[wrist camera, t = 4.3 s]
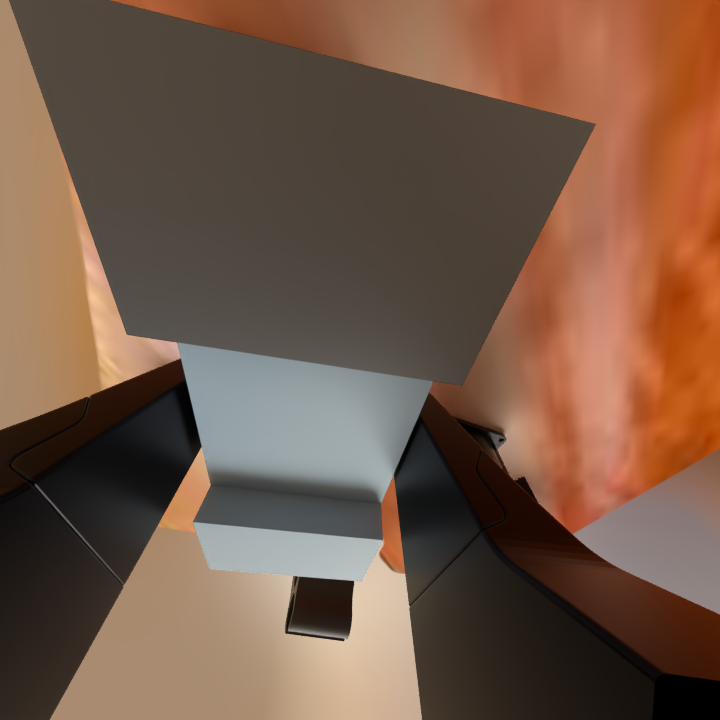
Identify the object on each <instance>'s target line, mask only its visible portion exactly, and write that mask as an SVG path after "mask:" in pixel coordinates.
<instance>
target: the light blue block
mask: <svg viewBox="0 0 720 720" xmlns="http://www.w3.org/2000/svg"><path fill="white" fill-rule="evenodd" d="M9 1H10V4H11V7H12V10H13V13H14V16H15V18H16V21H17V24H18V27H19V30H20V32H21V35H22V38H23V41H24V44H25V47H26V49H27V52H28V55H29V58H30V61H31V64H32V66H33V70H34V72H35V75H36V78H37V81H38V84H39V86H40V89H41V92H42V95H43V98H44V101H45V104H46V106H47V109H48V112H49V115H50V118H51V121H52V123H53V126H54V129H55V132H56V135H57V138H58V141H59V143H60V146H61V149H62V152H63V155H64V158H65V160H66V163H67V166H68V169H69V172H70V175H71V177H72V180H73V183H74V186H75V189H76V192H77V194H78V197H79V200H80V203H81V206H82V209H83V211H84V214H85V217H86V220H87V223H88V226H89V229H90V231H91V234H92V237H93V240H94V243H95V246H96V248H97V251H98V254H99V257H100V260H101V263H102V265H103V268H104V271H105V274H106V277H107V280H108V282H109V285H110V288H111V291H112V294H113V297H114V299H115V302H116V305H117V308H118V311H119V314H120V316H121V319H122V322H123V325H124V328H125V331H126V334H127V335H132V336H138V337H145V338H151V339H158V340H164V341H171V342H177V344H178V348H179V352H180V356H181V361H182V365H183V369H184V373H185V378H186V382H187V386H188V390H189V395H190V399H191V403H192V407H193V411H194V416H195V420H196V424H197V428H198V433H199V437H200V441H201V445H202V450H203V454H204V458H205V462H206V466H207V471H208V475H209V479H210V483H211V486H210V488H209V490H208V492H207V494H206V497H205V499H204V501H203V503H202V505H201V507H200V509H199V511H198V513H197V515H196V517H195V519H194V521H193V524H194V527H195V529H196V532H197V535H198V538H199V541H200V544H201V546H202V549H203V552H204V555H205V558H206V561H207V563H208V566H209V569H214V570H226V571H239V572H252V573H263V574H276V575H288V576H300V577H312V578H325V579H337V580H349V581H362V580H363V578H364V576H365V574H366V572H367V570H368V568H369V566H370V564H371V562H372V560H373V558H374V557H375V555H376V553H377V551H378V549H379V547H380V545H381V543H382V541H383V535H382V515H381V502H382V500H383V498H384V495H385V493H386V491H387V488H388V486H389V484H390V481H391V479H392V477H393V474H394V472H395V470H396V468H397V465H398V463H399V461H400V458H401V456H402V454H403V451H404V449H405V447H406V444H407V442H408V440H409V437H410V435H411V433H412V430H413V428H414V426H415V423H416V421H417V419H418V416H419V414H420V412H421V409H422V407H423V405H424V402H425V400H426V398H427V395H428V393H429V391H430V388H431V386H432V384H433V381H434V382H441V383H447V384H454V385H460V386H462V385H463V383H464V381H465V379H466V377H467V375H468V373H469V371H470V369H471V367H472V365H473V363H474V361H475V359H476V357H477V355H478V353H479V351H480V349H481V348H482V346H483V344H484V342H485V340H486V338H487V336H488V334H489V332H490V330H491V328H492V326H493V324H494V322H495V320H496V318H497V316H498V314H499V312H500V310H501V308H502V307H503V305H504V303H505V301H506V299H507V297H508V295H509V293H510V291H511V289H512V287H513V285H514V283H515V281H516V279H517V277H518V275H519V273H520V271H521V269H522V267H523V266H524V264H525V262H526V260H527V258H528V256H529V254H530V252H531V250H532V248H533V246H534V244H535V242H536V240H537V238H538V236H539V234H540V232H541V230H542V228H543V226H544V225H545V223H546V221H547V219H548V217H549V215H550V213H551V211H552V209H553V207H554V205H555V203H556V201H557V199H558V197H559V195H560V193H561V191H562V189H563V187H564V185H565V184H566V182H567V180H568V178H569V176H570V174H571V172H572V170H573V168H574V166H575V164H576V162H577V160H578V158H579V156H580V154H581V152H582V150H583V148H584V146H585V144H586V142H587V141H588V139H589V137H590V135H591V133H592V131H593V129H594V127H595V125H596V124H593V123H589V122H586V121H582V120H578V119H574V118H570V117H566V116H562V115H558V114H554V113H550V112H546V111H542V110H538V109H534V108H531V107H527V106H523V105H519V104H515V103H511V102H507V101H503V100H499V99H495V98H491V97H487V96H483V95H479V94H476V93H472V92H468V91H464V90H460V89H456V88H452V87H448V86H444V85H440V84H436V83H432V82H428V81H424V80H421V79H417V78H413V77H409V76H405V75H401V74H397V73H393V72H389V71H385V70H381V69H377V68H373V67H369V66H366V65H362V64H358V63H354V62H350V61H346V60H342V59H338V58H334V57H330V56H326V55H322V54H318V53H315V52H311V51H307V50H303V49H299V48H295V47H291V46H287V45H283V44H279V43H275V42H271V41H267V40H263V39H260V38H256V37H252V36H248V35H244V34H240V33H236V32H232V31H228V30H224V29H220V28H216V27H212V26H208V25H205V24H201V23H197V22H193V21H189V20H185V19H181V18H177V17H173V16H169V15H165V14H161V13H157V12H153V11H150V10H146V9H142V8H138V7H134V6H130V5H126V4H122V3H118V2H114V1H110V0H9Z"/></svg>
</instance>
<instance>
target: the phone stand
mask: <svg viewBox="0 0 720 720" xmlns="http://www.w3.org/2000/svg"><path fill="white" fill-rule="evenodd" d="M353 587H354V581H349V580H337V579H325V578H312V577H300V576H293V582H292V589H291V597H290V602H289V608H288V613H287V618H286V625H285V633H286V634H294V635H301V636H309V637H316V638H324V639H331V640H339V641H344V639H348V636H349V634H350V629H351V622H352V596H353Z"/></svg>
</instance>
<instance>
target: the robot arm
mask: <svg viewBox="0 0 720 720" xmlns="http://www.w3.org/2000/svg"><path fill="white" fill-rule="evenodd" d="M505 441H506V437H505V435H504V434H502V433H499V432H496V431H493V430H490V429H487V428H484V427H481V426H478V425H475V424H472V423H469V422H466V421H463V420H460V419H457V418H453V417H452V416H451V415H450V414H449V413H448V411H447V410H446V409H445V408H444V407H443V406H442V405H441V404H440V403H439V402H438V401H437V400H436V399H435V398H434V397H433V396H432V395H431V394H430V392H429V393H428V395H427V398H426V400H425V402H424V405H423V407H422V409H421V412H420V414H419V416H418V419H417V421H416V423H415V426H414V428H413V430H412V433H411V435H410V437H409V440H408V442H407V444H406V447H405V449H404V451H403V454H402V456H401V458H400V461H399V463H398V465H397V468H396V470H395V472H394V480H395V488H396V497H397V505H398V514H399V523H400V531H401V540H402V548H403V557H404V566H405V574H406V583H407V591H408V599H409V606H410V618H411V627H412V636H413V644H414V653H415V662H416V670H417V678H418V687H419V696H420V705H421V713H422V720H720V614H717V613H715V612H713V611H711V610H709V609H706V608H704V607H702V606H700V605H698V604H695V603H693V602H691V601H689V600H687V599H684V598H682V597H680V596H678V595H676V594H674V593H671V592H669V591H667V590H665V589H663V588H660V587H658V586H656V585H653V584H652V583H649V582H647V581H645V580H643V579H640V578H638V577H636V576H634V575H632V574H630V573H628V572H625V571H623V570H621V569H619V568H618V567H616V566H614V565H612V564H610V563H609V562H607V561H606V560H604V559H603V558H601V557H600V556H598V555H597V554H595V553H593V551H591V550H590V549H589V548H587V547H586V546H585V545H584V544H583V543H581V542H580V541H579V540H578V539H577V538H576V537H575V536H574V535H573V534H571V533H570V532H569V531H568V530H567V529H566V528H565V527H564V526H563V525H562V524H561V523H559V522H558V521H557V520H556V519H555V518H554V517H553V516H552V515H551V514H550V513H549V512H547V511H546V510H545V509H544V508H543V507H542V506H541V505H540V504H539V503H538V502H537V500H536V498H535V496H534V494H533V492H532V490H531V489H530V487H529V485H528V483H527V481H526V479H525V477H521V478H518V480H515V481H514V480H513V479H512V478H511V477H510V476H509V474H508V472H507V469H506V467H505V465H504V463H503V461H502V459H501V457H500V455H499V453H498V451H497V449H498V448H499V447H500V446H501V445H502V444H503V443H504V442H505ZM201 447H202V445H201V441H200V437H199V433H198V428H197V424H196V420H195V416H194V411H193V407H192V403H191V399H190V395H189V390H188V386H187V382H186V378H185V373H184V369H183V365H182V361H181V359H178V360H176V361H173V362H171V363H169V364H166V365H164V366H161V367H159V368H156V369H154V370H151V371H149V372H146V373H144V374H142V375H139V376H137V377H134V378H132V379H129V380H127V381H124V382H122V383H120V384H117V385H115V386H112V387H110V388H107V389H105V390H102V391H100V392H97V393H95V394H93V395H91V396H90V398H89V397H85V398H83V399H80V400H78V401H75V402H73V403H70V404H68V405H66V406H63V407H60V408H58V409H55V410H53V411H50V412H48V413H45V414H43V415H40V416H38V417H35V418H32V419H29V420H27V421H24V422H21V423H18V424H16V425H13V426H10V427H7V428H5V429H2V430H0V720H50V718H51V716H52V714H53V713H54V711H55V709H56V707H57V706H58V704H59V702H60V700H61V698H62V697H63V695H64V693H65V691H66V689H67V688H68V686H69V684H70V682H71V680H72V679H73V677H74V675H75V673H76V671H77V670H78V668H79V666H80V664H81V662H82V660H83V659H84V657H85V655H86V654H87V652H88V650H89V648H90V646H91V645H92V643H93V641H94V639H95V637H96V636H97V634H98V632H99V630H100V628H101V626H102V625H103V623H104V621H105V619H106V618H107V616H108V614H109V612H110V610H111V609H112V607H113V605H114V603H115V601H116V599H117V598H118V596H119V594H120V593H121V591H122V589H123V585H124V584H125V583H126V581H127V579H128V578H129V576H130V574H131V572H132V571H133V569H134V567H135V565H136V563H137V561H138V560H139V558H140V556H141V554H142V553H143V551H144V549H145V547H146V545H147V544H148V542H149V540H150V538H151V536H152V535H153V533H154V531H155V529H156V527H157V526H158V524H159V522H160V520H161V519H162V517H163V515H164V513H165V511H166V510H167V508H168V506H169V504H170V502H171V501H172V499H173V497H174V495H175V493H176V492H177V490H178V488H179V486H180V484H181V483H182V481H183V479H184V477H185V475H186V474H187V472H188V470H189V468H190V466H191V465H192V463H193V461H194V459H195V458H196V456H197V454H198V452H199V450H200V449H201Z"/></svg>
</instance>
